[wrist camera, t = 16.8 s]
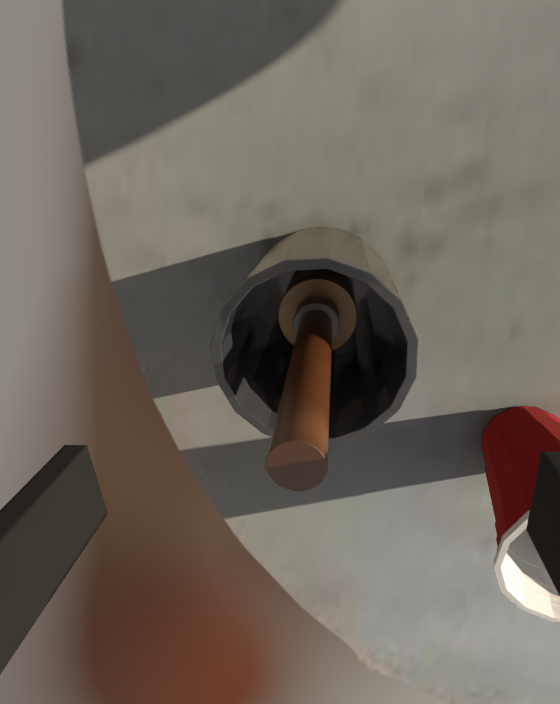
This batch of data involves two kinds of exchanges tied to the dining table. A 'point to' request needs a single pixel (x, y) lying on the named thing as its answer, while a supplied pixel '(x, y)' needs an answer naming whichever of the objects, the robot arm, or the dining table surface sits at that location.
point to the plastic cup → (519, 503)
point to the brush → (309, 375)
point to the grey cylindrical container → (346, 361)
